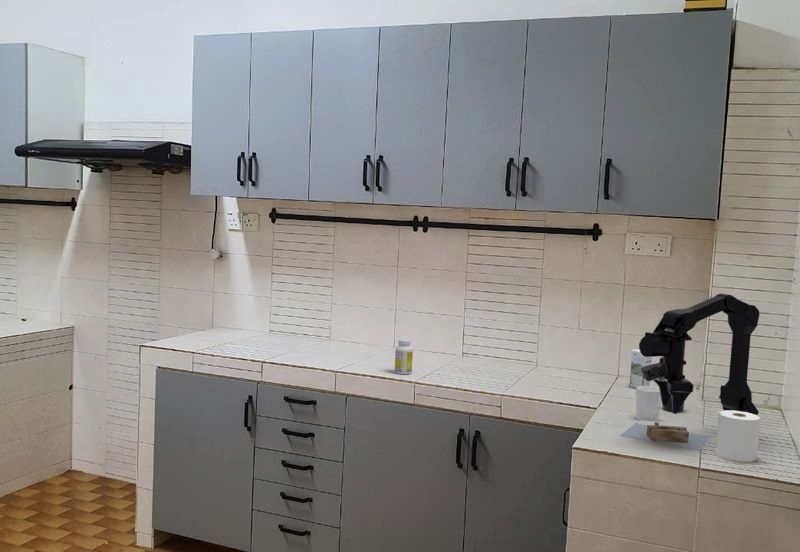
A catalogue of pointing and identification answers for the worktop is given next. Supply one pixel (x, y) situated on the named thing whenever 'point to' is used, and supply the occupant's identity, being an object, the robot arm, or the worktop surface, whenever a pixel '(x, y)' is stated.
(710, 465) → the worktop surface
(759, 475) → the worktop surface
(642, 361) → the syrup box
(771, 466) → the worktop surface
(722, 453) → the toilet paper
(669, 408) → the supplement bottle
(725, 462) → the worktop surface
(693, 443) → the grey board
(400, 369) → the supplement bottle
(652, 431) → the brown wooden block
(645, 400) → the white cup
